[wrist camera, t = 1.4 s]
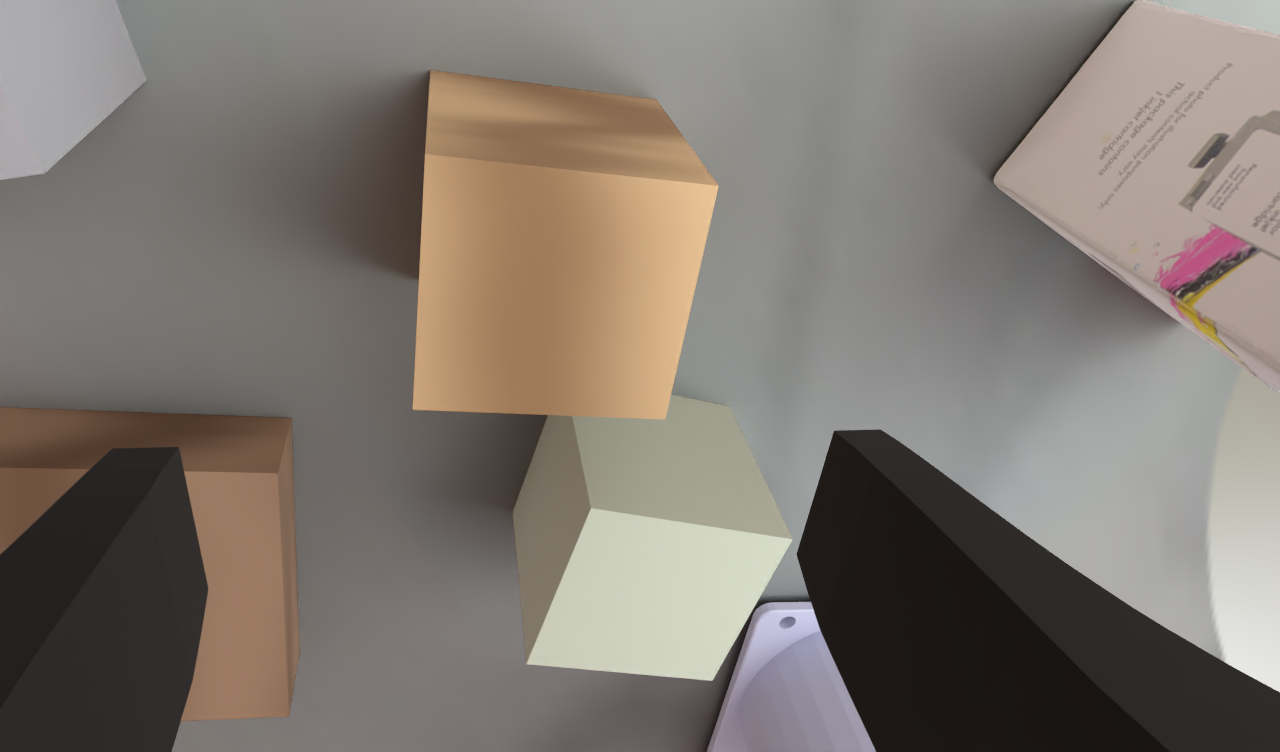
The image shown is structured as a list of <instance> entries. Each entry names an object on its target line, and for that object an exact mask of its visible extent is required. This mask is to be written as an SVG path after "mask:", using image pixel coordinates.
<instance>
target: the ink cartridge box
mask: <svg viewBox="0 0 1280 752" xmlns="http://www.w3.org/2000/svg"><path fill="white" fill-rule="evenodd" d="M994 184H995V185H996V186H997V187H998V188H999V189H1000V190H1001V191H1003V192H1004V193H1005V194H1007V195H1008V196H1009V197H1011V198H1012V199H1013V200H1015V201H1016V202H1017V203H1019V204H1020V205H1021V206H1023V207H1024V208H1025V209H1027V210H1028V211H1029V212H1030V213H1032V214H1033V215H1034V216H1036V217H1037V218H1038V219H1040V220H1041V221H1042V222H1044V223H1045V224H1046V225H1048V226H1049V227H1050V228H1052V229H1053V230H1054V231H1056V232H1057V233H1058V234H1059V235H1061V236H1062V237H1064V238H1065V239H1066V240H1068V241H1069V242H1070V243H1072V244H1073V245H1074V246H1076V247H1077V248H1078V249H1080V250H1081V251H1082V252H1084V253H1085V254H1087V255H1088V256H1089V257H1091V258H1092V259H1093V260H1095V261H1096V262H1097V263H1099V264H1100V265H1101V266H1103V267H1104V268H1105V269H1107V270H1108V271H1109V272H1111V273H1112V274H1114V275H1115V276H1116V277H1118V278H1119V279H1120V280H1122V281H1123V282H1124V283H1126V284H1127V285H1129V286H1130V287H1131V288H1133V289H1134V290H1135V291H1137V292H1138V293H1139V294H1141V295H1142V296H1143V297H1145V298H1146V299H1148V300H1149V301H1150V302H1152V303H1153V304H1154V305H1156V306H1157V307H1158V308H1160V309H1161V310H1163V311H1164V312H1165V313H1167V314H1168V315H1170V316H1171V317H1172V318H1174V319H1175V320H1177V321H1178V322H1179V323H1181V324H1182V325H1184V326H1185V327H1186V328H1188V329H1189V330H1191V331H1192V332H1193V333H1195V334H1196V335H1198V336H1199V337H1200V338H1202V339H1203V340H1205V341H1206V342H1207V343H1209V344H1210V345H1212V346H1213V347H1214V348H1216V349H1217V350H1219V351H1220V352H1222V353H1223V354H1224V355H1226V356H1227V357H1229V358H1230V359H1231V360H1233V361H1234V362H1236V363H1237V364H1238V365H1240V366H1241V367H1242V368H1244V369H1245V370H1247V371H1248V372H1249V373H1251V374H1253V375H1254V376H1255V377H1256V378H1258V379H1259V380H1261V381H1262V382H1263V383H1265V384H1266V385H1268V386H1269V387H1270V388H1272V389H1273V390H1275V391H1276V392H1277V393H1279V394H1280V35H1277V34H1273V33H1270V32H1266V31H1262V30H1258V29H1254V28H1250V27H1246V26H1241V25H1237V24H1233V23H1229V22H1224V21H1220V20H1217V19H1213V18H1210V17H1205V16H1200V15H1196V14H1191V13H1188V12H1184V11H1181V10H1178V9H1174V8H1171V7H1167V6H1164V5H1160V4H1157V3H1154V2H1150V1H1147V0H1136V1H1135V2H1134V3H1133V4H1132V5H1131V6H1130V8H1129V9H1128V10H1127V11H1126V12H1125V14H1124V15H1123V16H1122V17H1121V18H1120V20H1119V21H1118V22H1117V23H1116V25H1115V26H1114V27H1113V29H1112V30H1111V31H1110V32H1109V34H1108V35H1107V36H1106V37H1105V39H1104V40H1103V41H1102V42H1101V43H1100V45H1099V46H1098V47H1097V48H1096V50H1095V51H1094V52H1093V53H1092V55H1091V56H1090V57H1089V58H1088V60H1087V61H1086V62H1085V63H1084V64H1083V66H1082V67H1081V68H1080V70H1079V71H1078V72H1077V73H1076V75H1075V76H1074V77H1073V78H1072V80H1071V81H1070V82H1069V84H1068V85H1067V86H1066V87H1065V89H1064V90H1063V91H1062V92H1061V94H1060V95H1059V96H1058V98H1057V99H1056V100H1055V101H1054V103H1053V104H1052V105H1051V106H1050V107H1049V109H1048V110H1047V111H1046V112H1045V114H1044V115H1043V116H1042V117H1041V118H1040V120H1039V121H1038V122H1037V123H1036V124H1035V126H1034V127H1033V128H1032V130H1031V131H1030V132H1029V133H1028V135H1027V136H1026V137H1025V138H1024V140H1023V141H1022V142H1021V143H1020V145H1019V146H1018V147H1017V148H1016V149H1015V151H1014V152H1013V153H1012V154H1011V156H1010V157H1009V158H1008V159H1007V160H1006V162H1005V163H1004V164H1003V165H1002V167H1001V168H1000V169H999V170H998V172H997V173H996V175H995V178H994Z"/></svg>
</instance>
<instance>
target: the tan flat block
mask: <svg viewBox="0 0 1280 752" xmlns="http://www.w3.org/2000/svg"><path fill="white" fill-rule="evenodd" d="M152 447H179V449H180V454H181V459H182V464H183V469H184V473H185V478H186V483H187V488H188V493H189V498H190V502H191V507H192V512H193V517H194V522H195V526H196V531H197V536H198V541H199V546H200V550H201V555H202V560H203V565H204V570H205V574H206V579H207V584H208V595H207V601H206V607H205V614H204V620H203V626H202V632H201V638H200V644H199V649H198V655H197V660H196V665H195V671H194V676H193V681H192V685H191V688H190V691H189V695H188V698H187V702H186V705H185V708H184V712H183V715H182V718H181V721H197V720H220V719H242V718H264V717H287V716H289V713H290V707H291V701H292V695H293V689H294V683H295V677H296V672H297V666H298V660H299V654H300V648H299V619H298V590H297V561H296V532H295V503H294V474H293V445H292V418H281V417H254V416H227V415H199V414H172V413H145V412H118V411H91V410H64V409H37V408H9V407H0V554H1V553H2V552H3V551H4V550H6V549H7V548H8V547H9V546H10V545H11V544H12V543H13V542H14V541H15V540H16V539H17V538H18V537H19V536H20V535H21V534H22V533H23V532H24V531H26V530H27V529H28V528H29V527H30V526H31V525H32V524H33V523H34V522H35V521H36V520H37V519H38V518H39V517H40V516H41V515H42V514H43V513H44V512H45V511H46V510H48V509H49V508H50V507H51V506H52V505H53V504H54V503H55V502H56V501H57V500H58V499H59V498H60V497H61V496H62V495H63V494H64V493H65V492H66V491H67V490H68V489H69V488H70V487H71V486H73V485H74V484H75V483H76V482H77V481H78V480H79V479H80V478H81V477H82V476H83V475H84V474H85V473H86V472H87V471H88V470H89V469H91V468H92V467H93V466H94V465H95V464H96V463H97V462H98V461H99V460H100V459H101V458H103V457H104V456H105V455H106V454H107V453H108V452H109V451H110V450H111V449H112V448H152Z"/></svg>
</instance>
